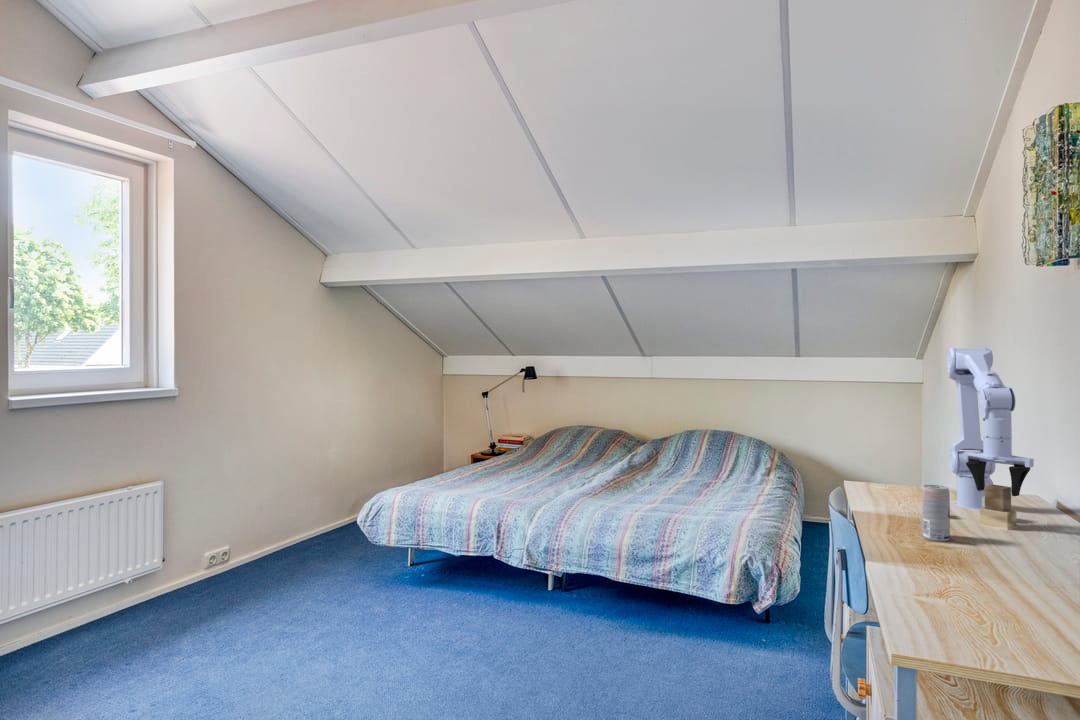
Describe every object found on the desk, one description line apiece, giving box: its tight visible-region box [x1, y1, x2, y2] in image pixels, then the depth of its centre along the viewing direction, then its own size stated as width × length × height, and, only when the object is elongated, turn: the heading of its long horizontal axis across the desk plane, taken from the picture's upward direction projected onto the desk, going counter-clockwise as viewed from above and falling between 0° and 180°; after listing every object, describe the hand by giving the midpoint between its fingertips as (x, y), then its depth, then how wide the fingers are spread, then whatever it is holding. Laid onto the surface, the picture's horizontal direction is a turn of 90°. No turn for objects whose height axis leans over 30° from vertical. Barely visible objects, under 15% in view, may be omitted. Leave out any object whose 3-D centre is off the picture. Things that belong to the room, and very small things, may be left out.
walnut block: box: [985, 484, 1012, 512], centre depth 161 cm, size 4×4×6 cm
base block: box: [979, 507, 1018, 531], centre depth 161 cm, size 4×6×4 cm
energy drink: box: [922, 484, 951, 543], centre depth 153 cm, size 5×5×12 cm
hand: (997, 492), depth 162 cm, fingers open, 7 cm apart
